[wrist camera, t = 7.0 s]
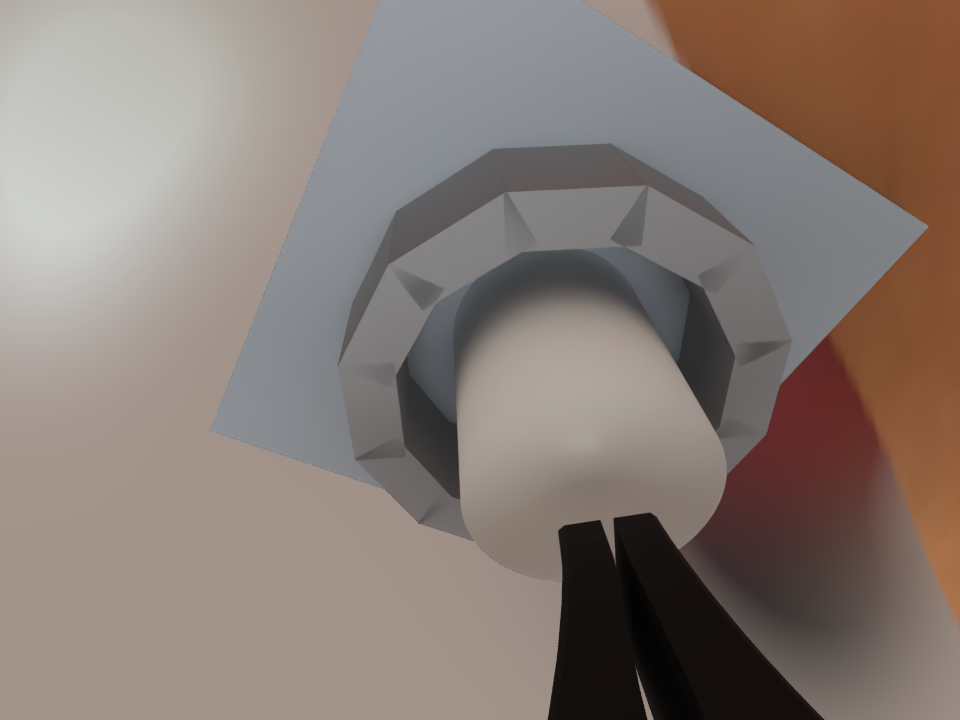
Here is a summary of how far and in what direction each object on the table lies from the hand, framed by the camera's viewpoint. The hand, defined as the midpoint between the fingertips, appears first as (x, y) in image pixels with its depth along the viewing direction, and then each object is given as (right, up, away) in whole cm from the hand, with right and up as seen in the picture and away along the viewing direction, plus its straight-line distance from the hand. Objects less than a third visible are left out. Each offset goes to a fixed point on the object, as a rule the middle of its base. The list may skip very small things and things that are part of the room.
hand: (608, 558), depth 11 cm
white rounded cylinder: (0, +4, +6) cm, 7 cm away
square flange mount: (-1, +5, +7) cm, 8 cm away
